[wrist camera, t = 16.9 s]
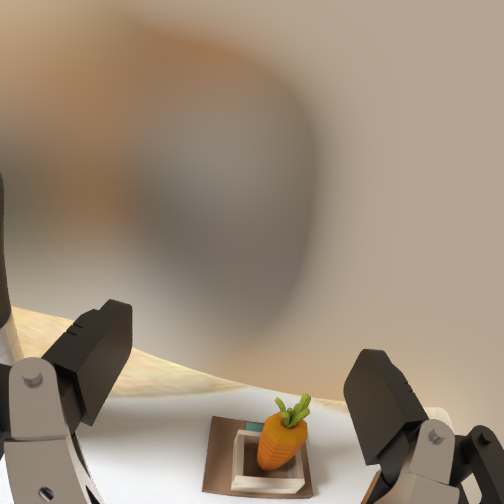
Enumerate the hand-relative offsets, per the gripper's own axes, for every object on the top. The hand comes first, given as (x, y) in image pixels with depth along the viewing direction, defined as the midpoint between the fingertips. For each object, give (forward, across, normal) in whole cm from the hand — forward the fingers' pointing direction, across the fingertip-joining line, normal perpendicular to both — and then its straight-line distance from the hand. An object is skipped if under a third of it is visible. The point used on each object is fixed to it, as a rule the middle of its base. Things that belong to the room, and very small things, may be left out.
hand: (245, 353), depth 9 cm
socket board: (+13, -8, +30) cm, 34 cm away
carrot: (+11, -8, +29) cm, 32 cm away
